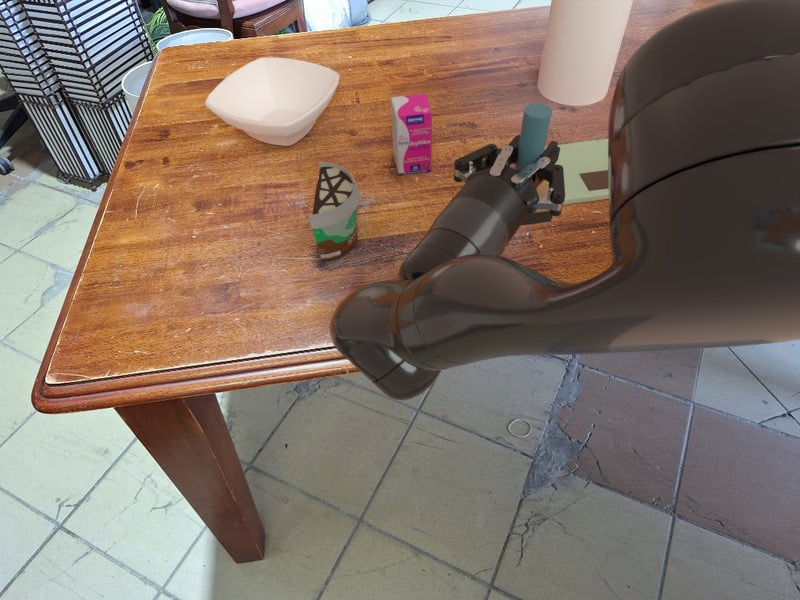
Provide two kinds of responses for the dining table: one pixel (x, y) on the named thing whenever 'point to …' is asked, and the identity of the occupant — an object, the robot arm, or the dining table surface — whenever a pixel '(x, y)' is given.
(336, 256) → the food container
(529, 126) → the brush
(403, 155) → the supplement box
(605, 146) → the board
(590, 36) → the canister
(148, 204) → the dining table surface
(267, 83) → the bowl
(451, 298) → the robot arm
